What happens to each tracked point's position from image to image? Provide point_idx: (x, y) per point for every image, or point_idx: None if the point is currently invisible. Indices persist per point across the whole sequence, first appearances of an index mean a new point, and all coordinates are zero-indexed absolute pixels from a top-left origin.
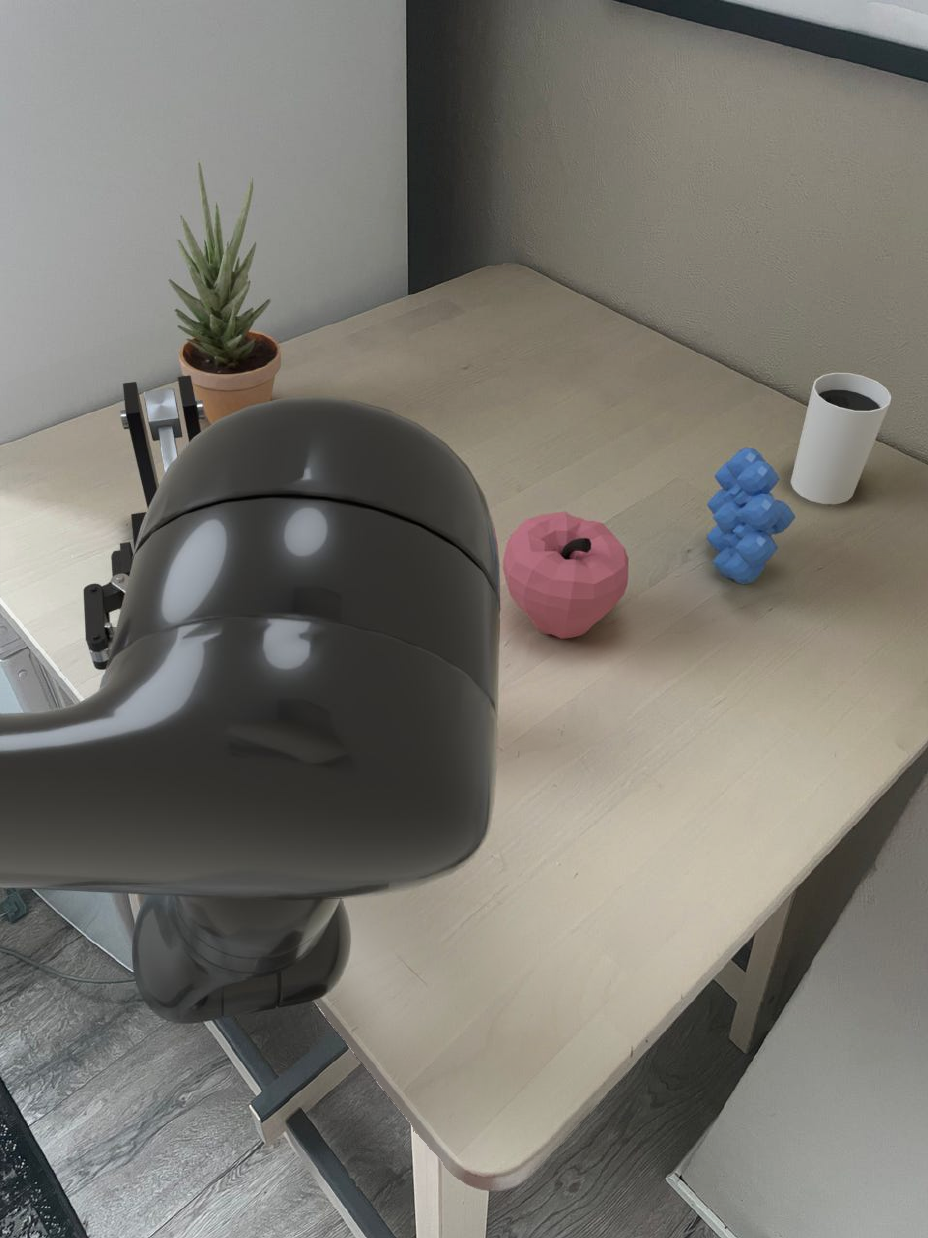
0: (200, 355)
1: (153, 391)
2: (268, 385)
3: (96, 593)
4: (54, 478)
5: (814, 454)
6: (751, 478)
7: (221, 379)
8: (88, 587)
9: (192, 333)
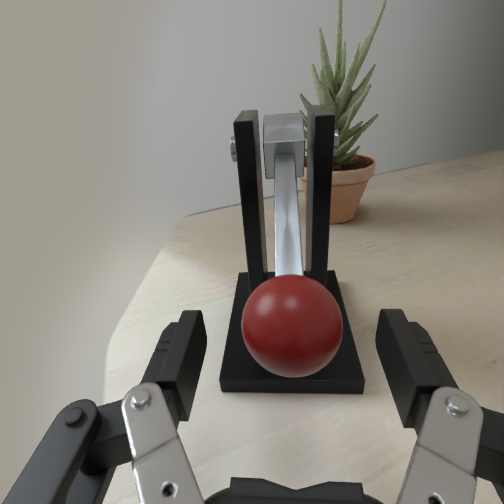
0: None
1: (276, 115)
2: (363, 186)
3: (72, 435)
4: (195, 241)
5: None
6: None
7: None
8: (70, 409)
9: None
